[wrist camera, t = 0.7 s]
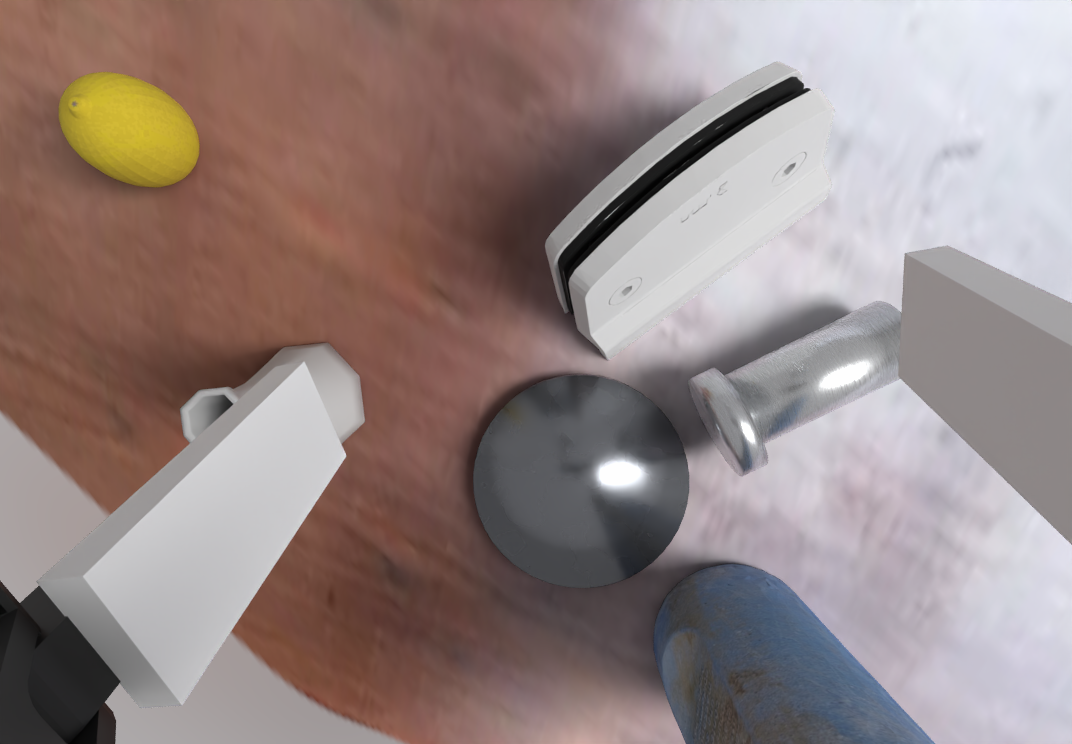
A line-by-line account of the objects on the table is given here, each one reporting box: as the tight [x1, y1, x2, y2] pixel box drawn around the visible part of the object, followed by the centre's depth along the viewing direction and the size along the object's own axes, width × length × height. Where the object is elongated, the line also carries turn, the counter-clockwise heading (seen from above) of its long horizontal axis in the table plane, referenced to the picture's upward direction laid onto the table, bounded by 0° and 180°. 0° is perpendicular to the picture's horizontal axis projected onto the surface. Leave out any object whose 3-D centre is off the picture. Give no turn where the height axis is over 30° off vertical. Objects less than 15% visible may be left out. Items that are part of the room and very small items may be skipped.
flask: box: [180, 343, 365, 444], centre depth 31 cm, size 7×7×10 cm
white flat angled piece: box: [545, 62, 835, 360], centre depth 30 cm, size 17×5×10 cm, turn 127°
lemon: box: [59, 72, 200, 187], centre depth 32 cm, size 6×6×8 cm
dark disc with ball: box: [473, 301, 901, 588], centre depth 32 cm, size 13×26×6 cm, turn 117°
